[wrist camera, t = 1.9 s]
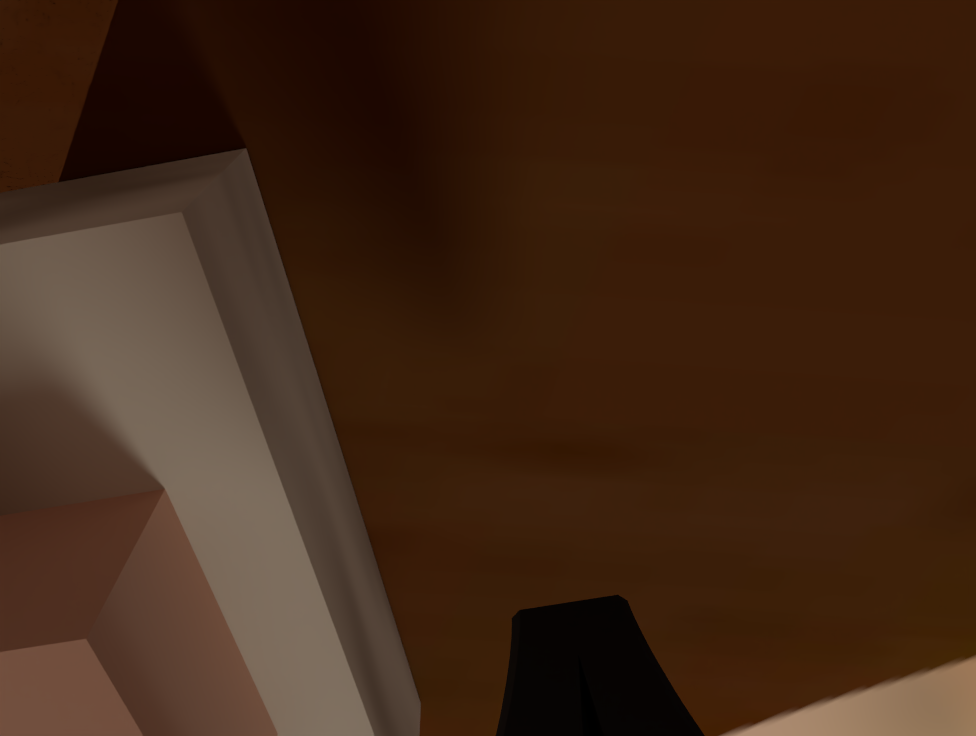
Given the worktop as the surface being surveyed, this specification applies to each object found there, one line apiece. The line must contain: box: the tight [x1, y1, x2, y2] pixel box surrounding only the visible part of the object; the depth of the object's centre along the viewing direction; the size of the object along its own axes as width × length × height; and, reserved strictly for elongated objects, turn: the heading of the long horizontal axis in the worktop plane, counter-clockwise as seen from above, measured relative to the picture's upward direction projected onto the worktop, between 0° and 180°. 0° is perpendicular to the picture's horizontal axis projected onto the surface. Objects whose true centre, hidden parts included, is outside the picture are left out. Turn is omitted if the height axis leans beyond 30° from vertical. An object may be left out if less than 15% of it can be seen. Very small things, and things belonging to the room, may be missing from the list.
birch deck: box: [0, 148, 421, 736], centre depth 13 cm, size 8×12×3 cm, turn 10°
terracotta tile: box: [0, 489, 278, 736], centre depth 10 cm, size 5×5×2 cm
